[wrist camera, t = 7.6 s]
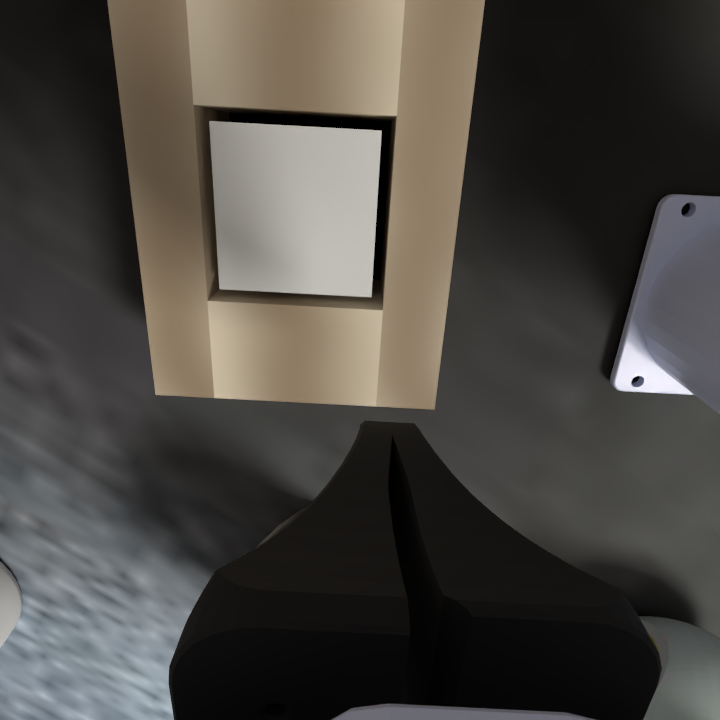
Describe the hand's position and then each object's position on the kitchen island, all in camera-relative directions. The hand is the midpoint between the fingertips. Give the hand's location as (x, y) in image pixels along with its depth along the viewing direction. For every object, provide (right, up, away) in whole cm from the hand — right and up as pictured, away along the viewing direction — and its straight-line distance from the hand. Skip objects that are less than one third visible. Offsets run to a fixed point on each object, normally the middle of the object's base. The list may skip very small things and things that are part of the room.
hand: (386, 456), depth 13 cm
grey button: (-3, +8, +6) cm, 10 cm away
